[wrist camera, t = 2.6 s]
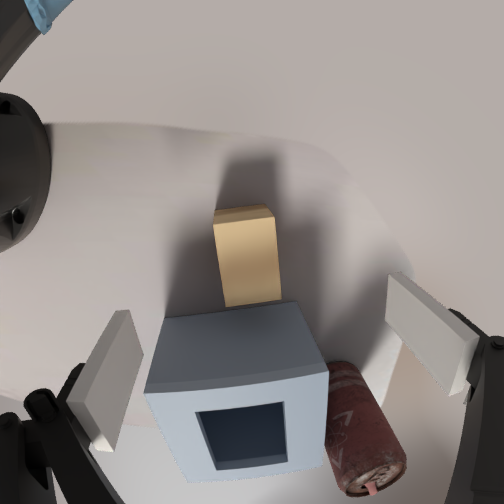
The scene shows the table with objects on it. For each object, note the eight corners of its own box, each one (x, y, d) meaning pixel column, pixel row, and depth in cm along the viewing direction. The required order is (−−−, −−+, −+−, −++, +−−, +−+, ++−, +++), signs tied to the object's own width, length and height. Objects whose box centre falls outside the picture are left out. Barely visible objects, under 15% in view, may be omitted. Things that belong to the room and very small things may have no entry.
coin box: (164, 318, 28) (143, 393, 18) (296, 301, 28) (328, 371, 19) (191, 408, 32) (187, 482, 22) (300, 395, 32) (322, 466, 23)
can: (314, 408, 33) (347, 507, 20) (298, 373, 31) (335, 484, 18) (362, 387, 33) (410, 479, 20) (352, 350, 31) (410, 451, 18)
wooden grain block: (214, 210, 25) (212, 224, 20) (264, 203, 25) (274, 216, 21) (224, 279, 27) (225, 307, 22) (271, 273, 27) (281, 299, 23)
